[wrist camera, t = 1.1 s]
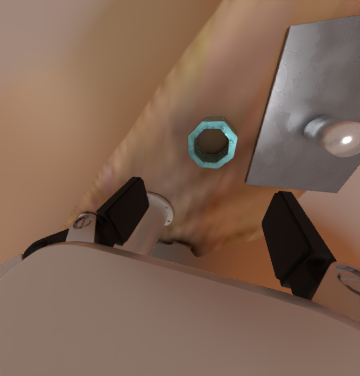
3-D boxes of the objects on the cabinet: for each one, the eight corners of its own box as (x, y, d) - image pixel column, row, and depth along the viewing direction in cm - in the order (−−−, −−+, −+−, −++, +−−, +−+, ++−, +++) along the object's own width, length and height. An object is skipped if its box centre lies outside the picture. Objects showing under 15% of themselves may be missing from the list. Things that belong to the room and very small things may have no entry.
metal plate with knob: (332, 189, 23) (366, 220, 17) (245, 181, 26) (250, 205, 21) (478, -1, 11) (715, -85, 6) (287, 29, 15) (324, -7, 9)
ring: (230, 159, 24) (231, 169, 21) (192, 157, 26) (188, 166, 23) (238, 116, 20) (240, 121, 17) (192, 117, 22) (187, 121, 19)
